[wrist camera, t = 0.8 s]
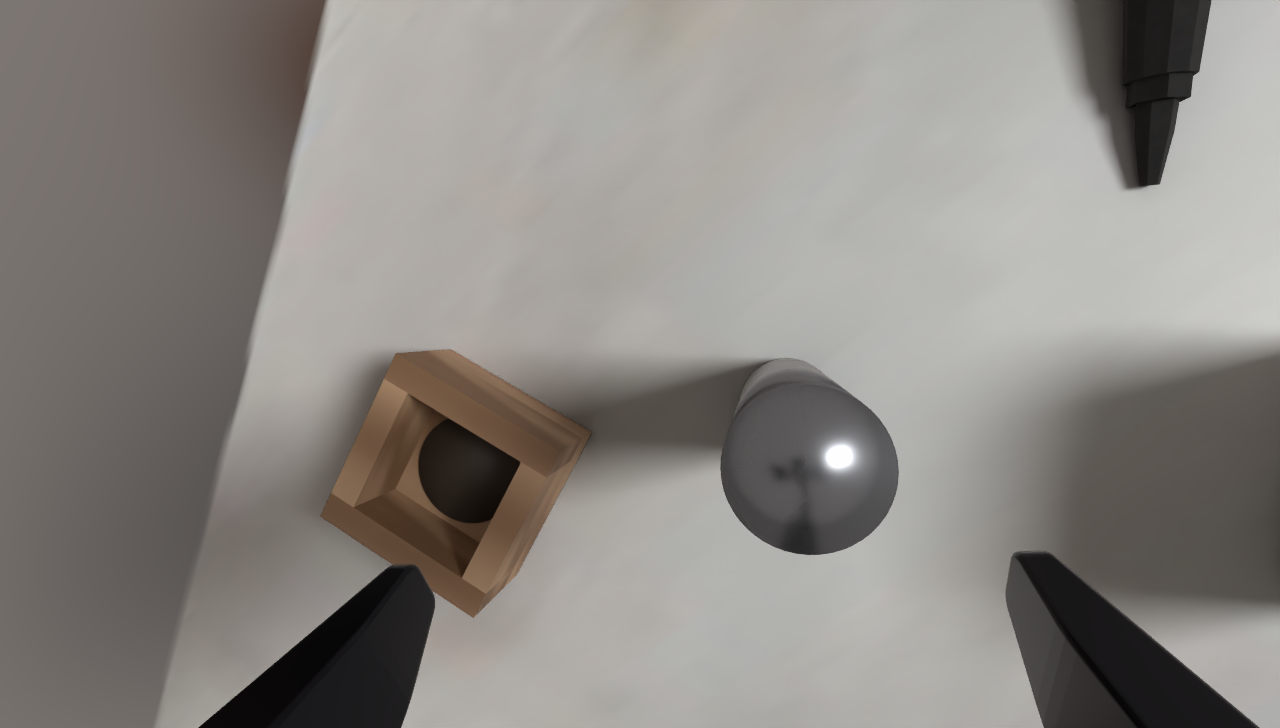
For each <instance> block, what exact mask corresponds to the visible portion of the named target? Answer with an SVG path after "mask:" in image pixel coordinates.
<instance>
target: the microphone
mask: <svg viewBox="0 0 1280 728" xmlns="http://www.w3.org/2000/svg"><path fill="white" fill-rule="evenodd" d="M1210 5H1211V0H1124V21H1123V84H1122V86H1128V89H1127V101H1126V108H1133V107H1136V109H1135V139H1136V150H1137V161H1138V171H1139V182H1140V186H1148V185H1158V184H1160V181H1161V177H1162V174H1163V170H1164V166H1165V163H1166V159H1167V155H1168V152H1169V148H1170V145H1171V141H1172V137H1173V134H1174V130H1175V124H1176V118H1177V112H1178V106H1179V102H1181V101H1183V100H1185V99H1187V98H1189V97H1191V89H1192V80H1193V76H1194V75H1195V74H1197V73H1198V72H1199V69H1200V64H1201V58H1202V52H1203V46H1204V40H1205V34H1206V29H1207V23H1208V17H1209V11H1210Z"/></svg>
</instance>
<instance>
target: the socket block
mask: <svg viewBox="0 0 1280 728" xmlns="http://www.w3.org/2000/svg"><path fill="white" fill-rule="evenodd" d="M591 433H592V432H590V431H589V430H587V429H585V428H584V427H582V426H580V425H579V424H577V423H575V422H573V421H572V420H570V419H568V418H567V417H565V416H563V415H562V414H560V413H558V412H556V411H555V410H553V409H551V408H550V407H548V406H546V405H545V404H543V403H541V402H539V401H538V400H536V399H534V398H533V397H531V396H529V395H528V394H526V393H524V392H522V391H521V390H519V389H517V388H516V387H514V386H512V385H510V384H509V383H507V382H505V381H504V380H502V379H500V378H499V377H497V376H495V375H493V374H492V373H490V372H488V371H487V370H485V369H483V368H482V367H480V366H478V365H476V364H475V363H473V362H471V361H470V360H468V359H466V358H465V357H463V356H461V355H459V354H458V353H456V352H454V351H453V350H437V351H422V352H408V353H396V354H395V356H394V358H393V361H392V363H391V365H390V367H389V369H388V371H387V373H386V376H385V378H384V380H383V382H382V384H381V386H380V389H379V391H378V393H377V395H376V397H375V399H374V402H373V404H372V406H371V408H370V410H369V412H368V414H367V417H366V419H365V421H364V423H363V425H362V427H361V430H360V432H359V434H358V436H357V438H356V440H355V443H354V445H353V447H352V449H351V451H350V453H349V455H348V458H347V460H346V462H345V464H344V466H343V468H342V471H341V473H340V475H339V477H338V479H337V481H336V484H335V486H334V488H333V490H332V492H331V494H330V496H329V499H328V501H327V503H326V505H325V507H324V509H323V512H322V514H321V516H320V517H322V518H323V519H325V520H327V521H328V522H330V523H331V524H333V525H334V526H336V527H337V528H339V529H340V530H342V531H343V532H345V533H346V534H348V535H349V536H351V537H352V538H354V539H355V540H357V541H358V542H360V543H361V544H363V545H364V546H366V547H367V548H369V549H370V550H372V551H373V552H375V553H376V554H378V555H379V556H381V557H382V558H384V559H385V560H387V561H388V562H390V563H391V564H393V565H396V564H414V565H416V566H417V567H418V568H419V569H420V571H421V572H422V574H423V576H424V578H425V580H426V581H427V583H428V585H429V587H430V589H431V590H432V591H434V592H435V593H437V594H438V595H440V596H441V597H443V598H444V599H446V600H447V601H449V602H450V603H452V604H453V605H455V606H456V607H458V608H459V609H461V610H462V611H464V612H465V613H467V614H468V615H470V616H471V617H473V618H474V617H475V616H476V615H477V614H478V613H479V612H480V611H481V610H482V609H483V608H484V607H485V606H486V605H487V604H488V603H489V602H490V601H491V600H492V599H493V598H494V597H495V596H496V595H497V594H498V593H499V592H500V591H501V590H502V589H503V588H504V587H505V586H506V585H507V584H508V583H509V582H510V581H511V580H512V579H513V578H514V577H515V576H516V575H517V573H518V571H519V569H520V568H521V566H522V564H523V562H524V560H525V558H526V556H527V554H528V552H529V550H530V549H531V547H532V545H533V543H534V541H535V539H536V537H537V535H538V533H539V532H540V530H541V528H542V526H543V524H544V522H545V520H546V518H547V516H548V515H549V513H550V511H551V509H552V507H553V505H554V503H555V501H556V499H557V498H558V496H559V494H560V492H561V490H562V488H563V486H564V484H565V482H566V481H567V479H568V477H569V475H570V473H571V471H572V469H573V467H574V465H575V464H576V462H577V460H578V458H579V456H580V454H581V452H582V450H583V448H584V446H585V445H586V443H587V441H588V439H589V437H590V435H591Z"/></svg>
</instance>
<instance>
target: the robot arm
mask: <svg viewBox="0 0 1280 728" xmlns="http://www.w3.org/2000/svg"><path fill="white" fill-rule="evenodd" d="M1006 603H1007V607H1008V611H1009V614H1010V618H1011V621H1012V624H1013V628H1014V631H1015V634H1016V638H1017V641H1018V645H1019V648H1020V651H1021V655H1022V658H1023V661H1024V665H1025V668H1026V671H1027V675H1028V678H1029V681H1030V685H1031V688H1032V691H1033V695H1034V698H1035V701H1036V705H1037V708H1038V711H1039V714H1040V717H1041V720H1042V724H1043V726H1044V728H1259V727H1258V726H1257V725H1256V724H1254V723H1253V722H1252V721H1251V720H1250V719H1248V718H1247V717H1246V716H1245V715H1244V714H1243V713H1241V712H1240V711H1239V710H1238V709H1237V708H1235V707H1234V706H1233V705H1232V704H1231V703H1229V702H1228V701H1227V700H1226V699H1225V698H1223V697H1222V696H1221V695H1220V694H1219V693H1217V692H1216V691H1215V690H1214V689H1213V688H1211V687H1210V686H1209V685H1208V684H1207V683H1205V682H1204V681H1203V680H1202V679H1201V678H1200V677H1198V676H1197V675H1196V674H1195V673H1194V672H1192V671H1191V670H1190V669H1189V668H1188V667H1186V666H1185V665H1184V664H1183V663H1182V662H1180V661H1179V660H1178V659H1177V658H1176V657H1174V656H1173V655H1172V654H1171V653H1170V652H1168V651H1167V650H1166V649H1165V648H1164V647H1163V646H1161V645H1160V644H1159V643H1158V642H1157V641H1155V640H1154V639H1153V638H1152V637H1151V636H1149V635H1148V634H1147V633H1146V632H1145V631H1143V630H1142V629H1141V628H1140V627H1139V626H1137V625H1136V624H1135V623H1134V622H1133V621H1131V620H1130V619H1129V618H1128V617H1127V616H1126V615H1124V614H1123V613H1122V612H1121V611H1120V610H1118V609H1117V608H1116V607H1115V606H1114V605H1112V604H1111V603H1110V602H1109V601H1108V600H1106V599H1105V598H1104V597H1103V596H1102V595H1100V594H1099V593H1098V592H1097V591H1096V590H1094V589H1093V588H1092V587H1091V586H1090V585H1088V584H1087V583H1086V582H1085V581H1084V580H1083V579H1081V578H1080V577H1079V576H1078V575H1077V574H1075V573H1074V572H1073V571H1072V570H1071V569H1069V568H1068V567H1067V566H1066V565H1065V564H1063V563H1062V562H1061V561H1060V560H1059V559H1057V558H1056V557H1055V556H1054V555H1052V554H1051V553H1048V552H1046V551H1018V552H1015V553H1014V554H1013V555H1012V558H1011V562H1010V568H1009V574H1008V580H1007V585H1006ZM434 609H435V598H434V594H433V592H432V590H431V589H430V587H429V585H428V583H427V581H426V580H425V578H424V576H423V574H422V572H421V571H420V569H419V568H418V567H417V566H416V565H414V564H396V565H392V566H390V567H388V568H387V569H385V570H384V571H383V572H382V573H381V574H379V575H378V576H377V577H376V578H375V579H374V580H372V581H371V582H370V583H369V584H368V585H366V586H365V587H364V588H363V589H362V590H361V591H359V592H358V593H357V594H356V595H355V596H353V597H352V598H351V599H350V600H349V601H348V602H346V603H345V604H344V605H343V606H342V607H340V608H339V609H338V610H337V611H336V612H335V613H333V614H332V615H331V616H330V617H329V618H327V619H326V620H325V621H324V622H323V623H322V624H320V625H319V626H318V627H317V628H316V629H315V630H313V631H312V632H311V633H310V634H309V635H307V636H306V637H305V638H304V639H303V640H302V641H300V642H299V643H298V644H297V645H296V646H294V647H293V648H292V649H291V650H290V651H289V652H287V653H286V654H285V655H284V656H283V657H281V658H280V659H279V660H278V661H277V662H276V663H274V664H273V665H272V666H271V667H270V668H268V669H267V670H266V671H265V672H264V673H263V674H261V675H260V676H259V677H258V678H257V679H255V680H254V681H253V682H252V683H251V684H250V685H248V686H247V687H246V688H245V689H244V690H242V691H241V692H240V693H239V694H238V695H237V696H235V697H234V698H233V699H232V700H231V701H229V702H228V703H227V704H226V705H225V706H224V707H222V708H221V709H220V710H219V711H218V712H216V713H215V714H214V715H213V716H212V717H211V718H209V719H208V720H207V721H206V722H205V723H203V724H202V725H201V726H200V727H199V728H401V726H402V724H403V721H404V718H405V715H406V712H407V709H408V706H409V703H410V700H411V697H412V693H413V690H414V686H415V683H416V679H417V675H418V671H419V667H420V664H421V660H422V656H423V652H424V648H425V644H426V641H427V637H428V633H429V629H430V625H431V621H432V618H433V614H434Z"/></svg>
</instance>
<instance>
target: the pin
mask: <svg viewBox="0 0 1280 728" xmlns="http://www.w3.org/2000/svg"><path fill="white" fill-rule="evenodd" d="M898 473H899V471H898V460H897V455H896V450H895V447H894V445H893V442H892V439H891V437H890V435H889V433H888V431H887V429H886V428H885V426H884V425H883V424H882V422H881V421H880V419H879V418H878V417H877V416H876V415H875V414H874V413H873V412H872V411H871V410H870V409H869V408H868V407H867V406H865V405H864V404H863V403H862V402H860V401H859V400H858V399H857V398H855V397H854V396H853V395H851V394H850V393H849V392H847V391H846V390H845V389H843V388H842V387H841V386H839V385H838V384H837V383H835V382H834V381H833V380H831V379H830V378H829V377H827V376H826V375H825V374H824V373H822V372H821V371H820V370H818V369H817V368H816V367H814V366H812V365H811V364H809V363H807V362H804V361H801V360H797V359H790V358H784V359H777V360H773V361H770V362H767V363H765V364H763V365H762V366H760V367H759V368H757V369H756V370H755V371H754V372H753V373H752V374H751V375H750V377H749V378H748V379H747V381H746V383H745V385H744V387H743V390H742V393H741V396H740V399H739V401H738V404H737V407H736V410H735V413H734V416H733V419H732V422H731V425H730V428H729V431H728V434H727V437H726V440H725V443H724V446H723V450H722V456H721V480H722V484H723V489H724V492H725V495H726V498H727V500H728V502H729V504H730V506H731V508H732V510H733V512H734V513H735V514H736V516H737V517H738V519H739V520H740V521H741V522H742V523H743V525H744V526H745V527H746V528H747V529H748V530H749V531H751V532H752V533H753V534H754V535H755V536H757V537H758V538H760V539H761V540H763V541H764V542H766V543H768V544H770V545H772V546H774V547H776V548H779V549H782V550H784V551H788V552H792V553H796V554H806V555H820V554H827V553H833V552H836V551H840V550H843V549H846V548H848V547H850V546H853V545H854V544H856V543H858V542H859V541H861V540H863V539H864V538H865V537H867V536H868V535H869V534H870V533H872V532H873V531H874V530H875V529H876V528H877V527H878V526H879V524H880V523H881V522H882V520H883V519H884V518H885V516H886V515H887V513H888V511H889V509H890V507H891V505H892V503H893V500H894V497H895V495H896V490H897V485H898Z"/></svg>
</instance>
